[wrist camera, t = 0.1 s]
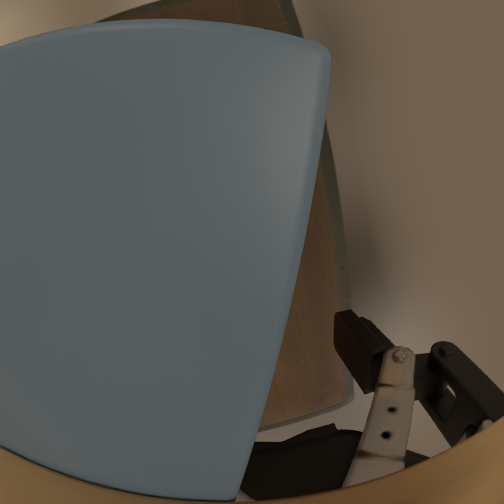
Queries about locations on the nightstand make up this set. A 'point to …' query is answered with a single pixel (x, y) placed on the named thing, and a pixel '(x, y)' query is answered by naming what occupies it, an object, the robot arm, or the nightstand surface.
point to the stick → (340, 500)
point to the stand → (151, 244)
